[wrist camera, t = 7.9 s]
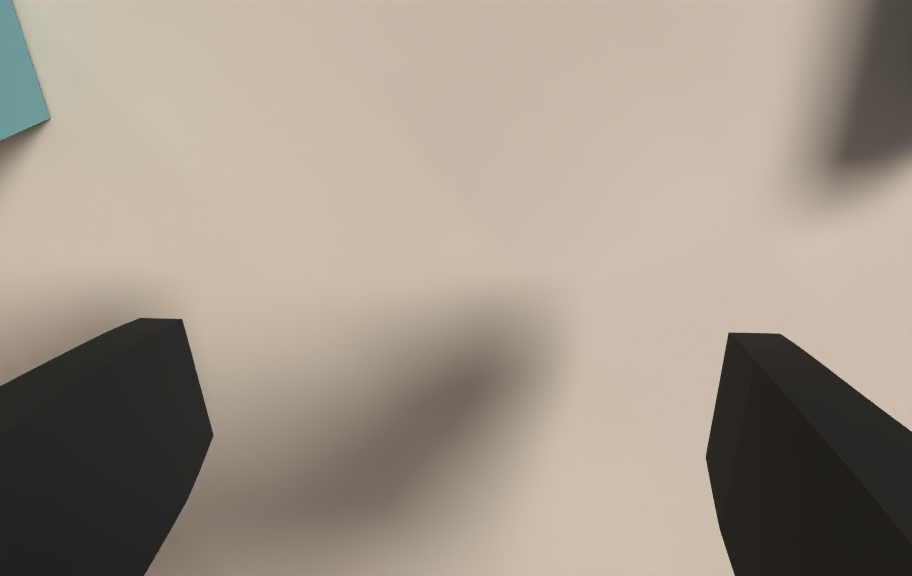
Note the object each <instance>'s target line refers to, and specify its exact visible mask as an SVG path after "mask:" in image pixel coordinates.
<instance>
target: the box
mask: <svg viewBox="0 0 912 576" xmlns="http://www.w3.org/2000/svg"><path fill="white" fill-rule="evenodd" d="M48 119H50V115H49V112H48V109H47V106H46V103H45V100H44V97H43V94H42V91H41V88H40V85H39V82H38V79H37V76H36V73H35V70H34V67H33V63H32V60H31V57H30V54H29V51H28V48H27V45H26V42H25V39H24V36H23V33H22V30H21V27H20V24H19V21H18V18H17V15H16V12H15V9H14V6H13V3H12V0H0V140H2V139H5V138H7V137H9V136H11V135H14V134H16V133H18V132H20V131H23V130H25V129H27V128H29V127H32V126H34V125H36V124H39V123H41V122H43V121H45V120H48Z"/></svg>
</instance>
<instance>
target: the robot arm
mask: <svg viewBox="0 0 912 576" xmlns="http://www.w3.org/2000/svg"><path fill="white" fill-rule="evenodd" d="M212 438H213V432H212V428H211V424H210V421H209V417H208V413H207V410H206V406H205V402H204V398H203V395H202V391H201V387H200V384H199V380H198V376H197V372H196V369H195V365H194V361H193V358H192V354H191V350H190V346H189V343H188V339H187V335H186V332H185V328H184V324H183V320H182V319H155V318H139V319H137V320H134V321H132V322H129V323H127V324H124V325H122V326H119V327H117V328H115V329H113V330H110V331H108V332H106V333H104V334H102V335H100V336H98V337H96V338H94V339H92V340H90V341H88V342H86V343H84V344H82V345H80V346H78V347H76V348H74V349H72V350H70V351H68V352H66V353H64V354H62V355H60V356H58V357H56V358H54V359H52V360H50V361H48V362H46V363H44V364H42V365H41V366H39V367H37V368H35V369H33V370H31V371H29V372H27V373H25V374H23V375H21V376H19V377H17V378H15V379H13V380H11V381H9V382H8V383H6V384H4V385H2V386H0V576H144V575H145V573H146V571H147V570H148V568H149V566H150V564H151V563H152V561H153V559H154V558H155V556H156V554H157V552H158V551H159V549H160V547H161V545H162V544H163V542H164V540H165V538H166V537H167V535H168V533H169V532H170V530H171V528H172V526H173V525H174V523H175V521H176V519H177V518H178V516H179V514H180V512H181V510H182V508H183V507H184V505H185V503H186V501H187V499H188V497H189V495H190V492H191V490H192V488H193V485H194V483H195V481H196V478H197V476H198V474H199V471H200V469H201V466H202V464H203V461H204V459H205V456H206V453H207V451H208V448H209V446H210V443H211V440H212ZM706 461H707V466H708V472H709V477H710V482H711V488H712V493H713V498H714V503H715V508H716V513H717V518H718V522H719V527H720V531H721V534H722V537H723V541H724V544H725V547H726V550H727V553H728V556H729V559H730V562H731V565H732V568H733V571H734V574H735V576H912V432H911V431H910V430H909V429H907V428H906V427H905V426H903V425H902V424H901V423H899V422H898V421H896V420H895V419H894V418H892V417H891V416H890V415H888V414H887V413H886V412H884V411H883V410H882V409H880V408H879V407H878V406H876V405H875V404H874V403H872V402H871V401H870V400H868V399H867V398H866V397H864V396H863V395H862V394H861V393H859V392H858V391H857V390H855V389H854V388H853V387H851V386H850V385H849V384H847V383H846V382H845V381H844V380H842V379H841V378H840V377H838V376H837V375H836V374H834V373H833V372H832V371H830V370H829V369H828V368H827V367H825V366H824V365H823V364H821V363H820V362H819V361H817V360H816V359H815V358H813V357H812V356H811V355H809V354H808V353H807V352H805V351H804V350H803V349H801V348H800V347H799V346H797V345H796V344H794V343H793V342H791V341H790V340H788V339H787V338H785V337H784V336H782V335H781V334H767V333H729V334H728V339H727V345H726V350H725V356H724V361H723V366H722V372H721V377H720V383H719V388H718V393H717V399H716V404H715V410H714V415H713V421H712V426H711V431H710V437H709V442H708V448H707V453H706Z"/></svg>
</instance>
